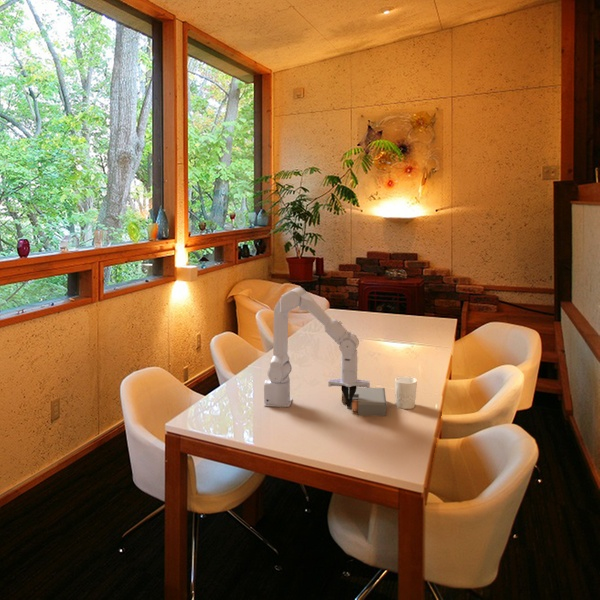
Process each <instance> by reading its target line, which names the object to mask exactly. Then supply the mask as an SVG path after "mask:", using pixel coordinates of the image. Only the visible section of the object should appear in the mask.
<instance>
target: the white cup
mask: <svg viewBox="0 0 600 600" xmlns="http://www.w3.org/2000/svg"><path fill="white" fill-rule="evenodd" d="M417 387H418V379H417V378H415V377H412V376H407V375H406V376H405V375H404V376H403V375H401V376H398V377H395V378H394V393H395V406H396V407H397V408H398V409H403V410H410V409H414V407H416V406H415V405H416V397H417Z"/></svg>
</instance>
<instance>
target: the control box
mask: <svg viewBox="0 0 600 600" xmlns="http://www.w3.org/2000/svg"><path fill="white" fill-rule="evenodd" d="M385 389H386V388H385V387H370V388H367V387H356V392H355V394H354V396H353V398H352V400H358V411H357V413H358V414H357V415H358V416H376V417H378V416H379V417H386V416H387V397H386V390H385ZM346 407H347V406H346ZM347 409H351V410H352V401H351V407H347Z"/></svg>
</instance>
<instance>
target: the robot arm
mask: <svg viewBox="0 0 600 600" xmlns="http://www.w3.org/2000/svg"><path fill="white" fill-rule="evenodd" d="M297 308H298V310H299V311H308V312H309V313H310V314H311V315H312V316H313V317H314V319H316V320H317V321H319V323H321V325H323V327H324V332H325V333H326V334H327V335H328V336H330V338H331V339H332V340H334V342H335V343H336V344H337V345H339V346H338V348H339V350H340V352H341V354H340V355H341V356H340V362H341V363H340V378H337V379H328V380H327V381H328V386H327V387H340V388H341V393H342V392H343V394H344V397H345V399H346V402H345V403H346V407H351V401H352V398H353V396H354V394H355V392H356V387H364V388H371V386H370V385H371V382H370V380H363V379H358V347H359V346H360V345H359V344H360V340H359V338H358V337H357V335H356V334H354V333H352V332H351V331H348V330H347V329H346V328H345V327H344V326H343V325H342V324H343V322H342V321H340V320H339V321H338V319H332V318H331V317H329V314H327V313H326V312H325V310H324V309H323V308H322V307H321V306H320V305H319V304H318V302H317V301H316V300H315V298H313V296H312V295H311V294H310V293H309V292H307V291H306V290H305V288H303V287H300V286H298V287H297V286H296V287H294V288H292V289H291V290H288V291H287V292H284V293H283V294H282V295H280V298H279V300H278V301H277V303H276V304H275V306H274V308H273V339H272V341H273V342H272V343H273V345H272V346H273V351H272V354H273V355H272V358H271V360H270V363H269V366H270V367H269V368H268V371H267V377H268V379H265V380H264V386H263V401H264V403H263V406H264V407H277V408H279V407H281V408H282V407H283V408H290V407H291V403H292V400H293V398H292V397H291V386H290V385H291V383H290V382H291V381H290V380H291V379H290V374H291V372H292V368H293V367H292V364H291V362H290V356H289V355H288V347H289V346H288V341H289V313H290V312H291V311H292V310H294V309H297Z"/></svg>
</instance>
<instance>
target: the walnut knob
mask: <svg viewBox="0 0 600 600" xmlns="http://www.w3.org/2000/svg"><path fill="white" fill-rule="evenodd" d="M341 403H346V399H345V397H344V394H343V392H342V391H341Z"/></svg>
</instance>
